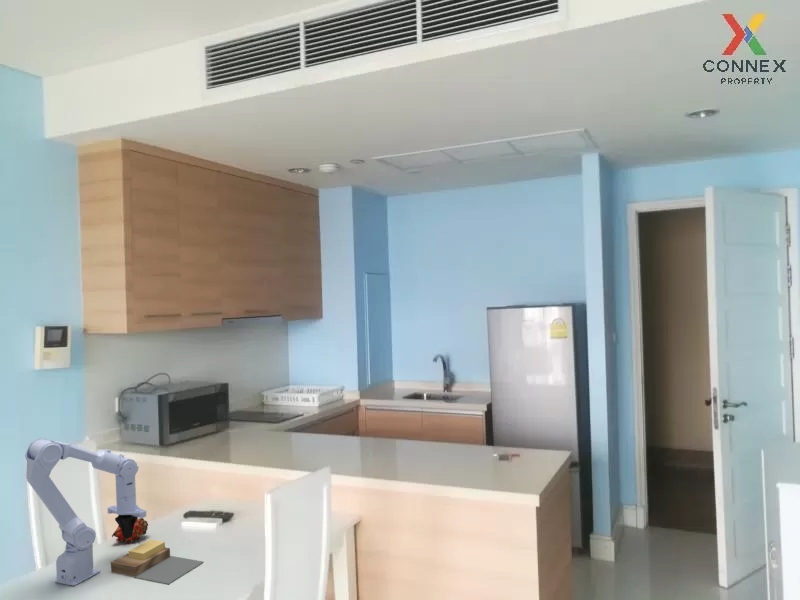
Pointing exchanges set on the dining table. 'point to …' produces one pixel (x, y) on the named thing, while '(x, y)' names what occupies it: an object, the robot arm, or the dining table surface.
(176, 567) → the mat
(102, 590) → the dining table surface
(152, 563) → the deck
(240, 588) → the dining table surface
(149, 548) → the yellow rectangular block
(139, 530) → the dragon fruit
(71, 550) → the robot arm
